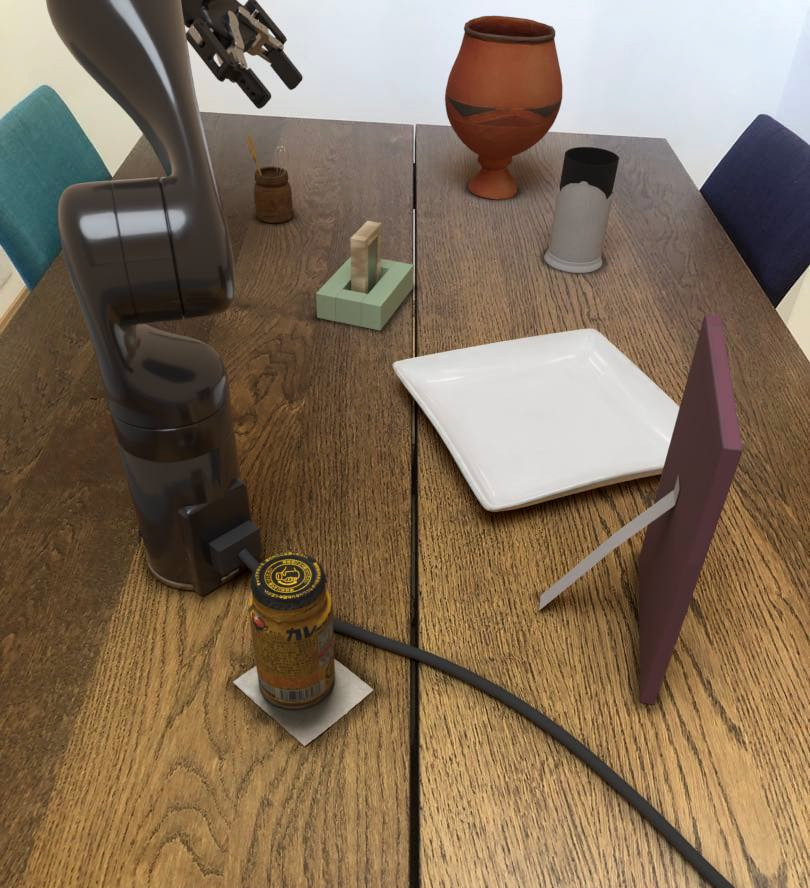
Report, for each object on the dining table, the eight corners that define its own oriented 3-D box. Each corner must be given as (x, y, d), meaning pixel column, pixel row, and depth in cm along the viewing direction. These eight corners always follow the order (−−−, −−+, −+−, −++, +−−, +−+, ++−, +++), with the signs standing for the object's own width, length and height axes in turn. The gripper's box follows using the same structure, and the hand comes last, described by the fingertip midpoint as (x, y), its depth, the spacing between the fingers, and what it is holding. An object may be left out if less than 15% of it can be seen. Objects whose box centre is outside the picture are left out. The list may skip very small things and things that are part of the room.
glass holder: (538, 266, 121) (554, 161, 111) (557, 230, 131) (573, 130, 121) (597, 277, 120) (619, 170, 109) (611, 239, 129) (632, 139, 119)
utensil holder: (288, 225, 129) (282, 145, 121) (249, 222, 130) (241, 142, 122) (297, 211, 133) (293, 133, 125) (260, 207, 134) (253, 129, 126)
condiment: (302, 633, 69) (293, 528, 60) (373, 691, 65) (374, 587, 56) (233, 683, 65) (213, 578, 57) (304, 748, 61) (294, 645, 52)
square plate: (387, 387, 96) (388, 358, 94) (589, 351, 104) (595, 323, 101) (483, 535, 78) (487, 504, 76) (720, 479, 86) (731, 449, 83)
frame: (351, 310, 110) (350, 237, 103) (367, 291, 114) (367, 220, 107) (365, 313, 109) (364, 240, 102) (380, 294, 113) (381, 222, 107)
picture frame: (654, 705, 65) (759, 452, 47) (530, 682, 66) (589, 428, 49) (651, 561, 76) (733, 317, 59) (546, 543, 78) (597, 300, 61)
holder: (316, 317, 108) (315, 293, 106) (353, 276, 117) (353, 253, 115) (380, 331, 106) (380, 306, 104) (412, 288, 115) (413, 264, 113)
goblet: (491, 221, 133) (510, 46, 116) (416, 184, 144) (422, 20, 127) (570, 195, 142) (598, 30, 125) (494, 163, 153) (510, 6, 136)
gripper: (165, -50, 84) (274, 87, 90) (231, -67, 94) (326, 57, 100) (130, 5, 89) (236, 132, 94) (196, -17, 99) (289, 99, 104)
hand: (282, 93), depth 97 cm, fingers open, 8 cm apart
